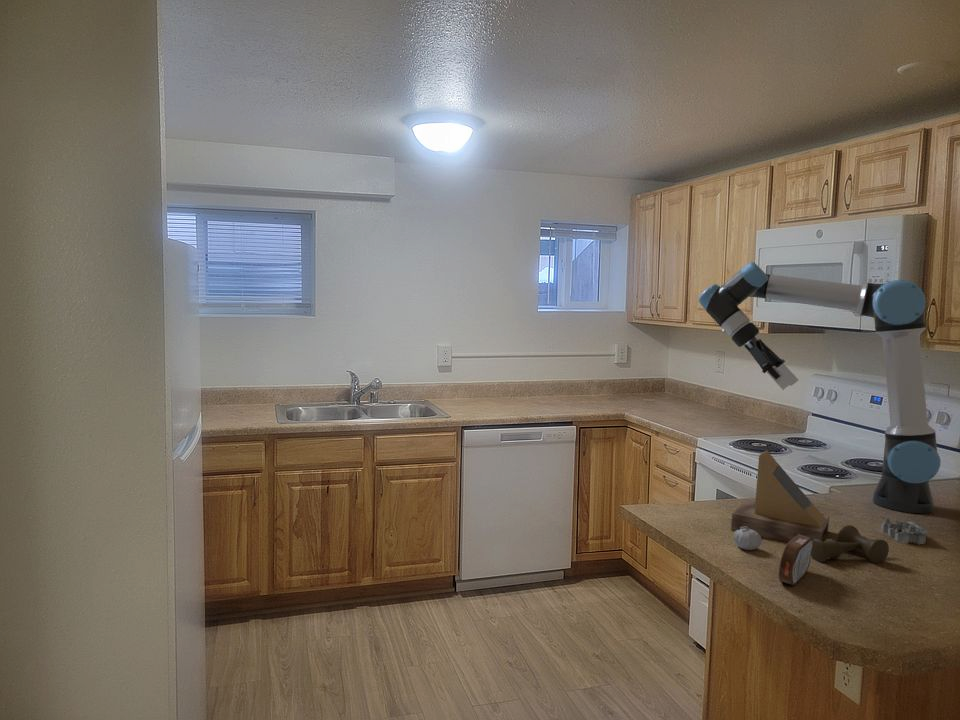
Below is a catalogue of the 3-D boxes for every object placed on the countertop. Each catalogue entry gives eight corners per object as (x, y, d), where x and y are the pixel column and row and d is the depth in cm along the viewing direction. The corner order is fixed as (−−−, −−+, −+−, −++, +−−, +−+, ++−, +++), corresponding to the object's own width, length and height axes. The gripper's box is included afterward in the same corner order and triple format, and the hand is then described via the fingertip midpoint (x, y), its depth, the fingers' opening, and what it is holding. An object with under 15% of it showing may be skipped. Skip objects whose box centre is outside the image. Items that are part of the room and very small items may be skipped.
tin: (797, 566, 148) (800, 528, 147) (812, 570, 146) (816, 532, 145) (775, 587, 136) (779, 546, 136) (792, 592, 134) (796, 550, 134)
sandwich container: (822, 527, 162) (827, 465, 161) (753, 514, 170) (758, 454, 169) (827, 519, 169) (832, 459, 168) (761, 506, 177) (766, 449, 176)
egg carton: (877, 529, 177) (879, 514, 177) (909, 532, 176) (910, 516, 175) (896, 543, 166) (897, 527, 166) (929, 546, 165) (931, 530, 165)
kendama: (798, 555, 157) (864, 546, 163) (832, 573, 148) (901, 562, 154) (800, 530, 156) (867, 521, 162) (834, 546, 147) (904, 536, 153)
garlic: (731, 549, 157) (733, 527, 156) (733, 542, 161) (735, 521, 161) (760, 555, 154) (762, 532, 154) (761, 547, 159) (762, 525, 159)
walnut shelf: (828, 531, 173) (829, 514, 173) (820, 549, 159) (821, 531, 159) (745, 514, 184) (746, 499, 183) (730, 530, 170) (732, 513, 170)
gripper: (740, 336, 216) (787, 389, 209) (720, 338, 195) (772, 397, 188) (759, 320, 213) (808, 373, 206) (741, 321, 192) (795, 379, 185)
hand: (791, 385), depth 197 cm, fingers open, 13 cm apart
